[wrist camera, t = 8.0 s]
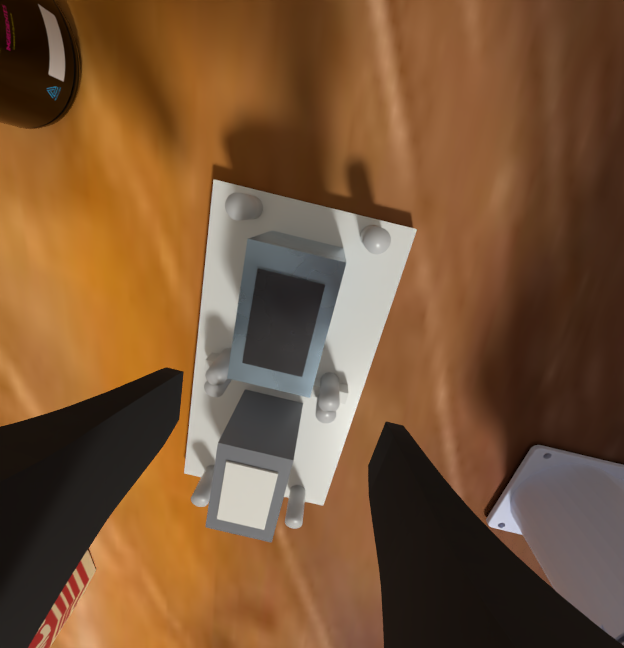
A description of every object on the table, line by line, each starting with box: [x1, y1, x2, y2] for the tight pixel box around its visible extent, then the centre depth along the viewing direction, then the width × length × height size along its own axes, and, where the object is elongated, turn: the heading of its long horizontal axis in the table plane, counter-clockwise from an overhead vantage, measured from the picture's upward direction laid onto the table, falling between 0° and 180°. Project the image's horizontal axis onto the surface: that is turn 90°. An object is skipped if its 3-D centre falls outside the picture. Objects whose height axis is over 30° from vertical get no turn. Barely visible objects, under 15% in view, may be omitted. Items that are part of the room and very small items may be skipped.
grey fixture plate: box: [184, 179, 417, 542], centre depth 18 cm, size 11×21×6 cm, turn 167°
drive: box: [227, 231, 346, 398], centre depth 15 cm, size 4×6×5 cm, turn 167°
